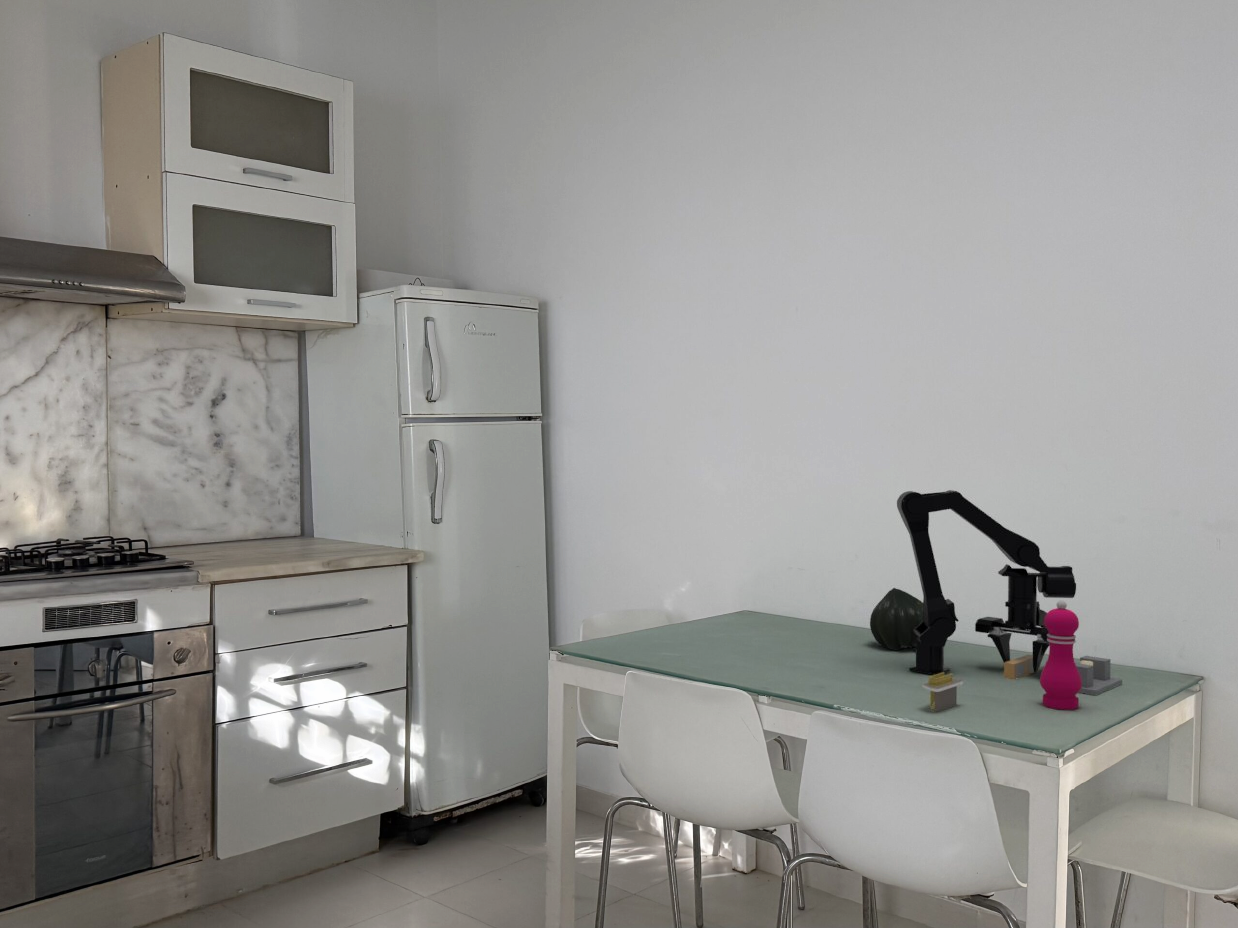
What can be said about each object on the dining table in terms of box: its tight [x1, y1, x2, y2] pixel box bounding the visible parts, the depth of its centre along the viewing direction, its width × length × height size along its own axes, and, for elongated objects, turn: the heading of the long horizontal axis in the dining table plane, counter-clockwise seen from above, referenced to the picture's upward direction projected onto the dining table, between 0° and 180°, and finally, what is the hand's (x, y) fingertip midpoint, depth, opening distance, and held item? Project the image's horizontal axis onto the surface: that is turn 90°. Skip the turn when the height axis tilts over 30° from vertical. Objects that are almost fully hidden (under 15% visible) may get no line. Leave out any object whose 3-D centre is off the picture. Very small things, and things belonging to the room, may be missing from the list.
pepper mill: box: [1039, 599, 1082, 711], centre depth 193 cm, size 7×7×20 cm
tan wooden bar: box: [1003, 654, 1035, 680], centre depth 220 cm, size 12×2×4 cm, turn 134°
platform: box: [922, 672, 964, 713], centre depth 192 cm, size 12×18×7 cm, turn 134°
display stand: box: [1075, 655, 1123, 696], centre depth 209 cm, size 14×9×5 cm, turn 134°
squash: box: [869, 587, 923, 651], centre depth 249 cm, size 14×15×15 cm
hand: (1021, 669), depth 220 cm, fingers open, 6 cm apart
